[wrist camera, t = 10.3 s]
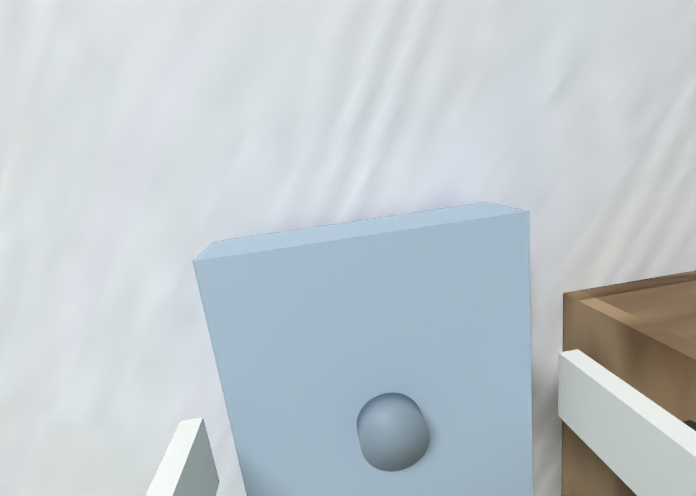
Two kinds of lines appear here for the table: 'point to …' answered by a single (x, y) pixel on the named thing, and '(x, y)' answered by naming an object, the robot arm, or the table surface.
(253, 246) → the lid
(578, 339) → the box
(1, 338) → the table surface
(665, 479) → the robot arm
